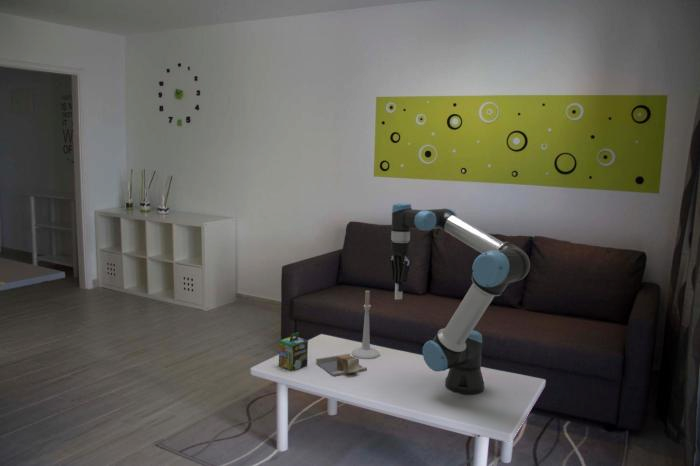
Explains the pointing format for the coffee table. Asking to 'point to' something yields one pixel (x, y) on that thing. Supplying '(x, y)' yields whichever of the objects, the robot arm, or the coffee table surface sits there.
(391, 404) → the coffee table surface
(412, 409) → the coffee table surface
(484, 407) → the coffee table surface
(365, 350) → the candlestick
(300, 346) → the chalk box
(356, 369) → the block
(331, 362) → the grey flat square piece
